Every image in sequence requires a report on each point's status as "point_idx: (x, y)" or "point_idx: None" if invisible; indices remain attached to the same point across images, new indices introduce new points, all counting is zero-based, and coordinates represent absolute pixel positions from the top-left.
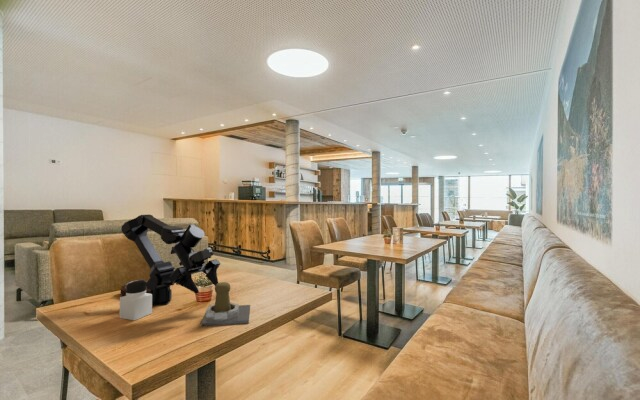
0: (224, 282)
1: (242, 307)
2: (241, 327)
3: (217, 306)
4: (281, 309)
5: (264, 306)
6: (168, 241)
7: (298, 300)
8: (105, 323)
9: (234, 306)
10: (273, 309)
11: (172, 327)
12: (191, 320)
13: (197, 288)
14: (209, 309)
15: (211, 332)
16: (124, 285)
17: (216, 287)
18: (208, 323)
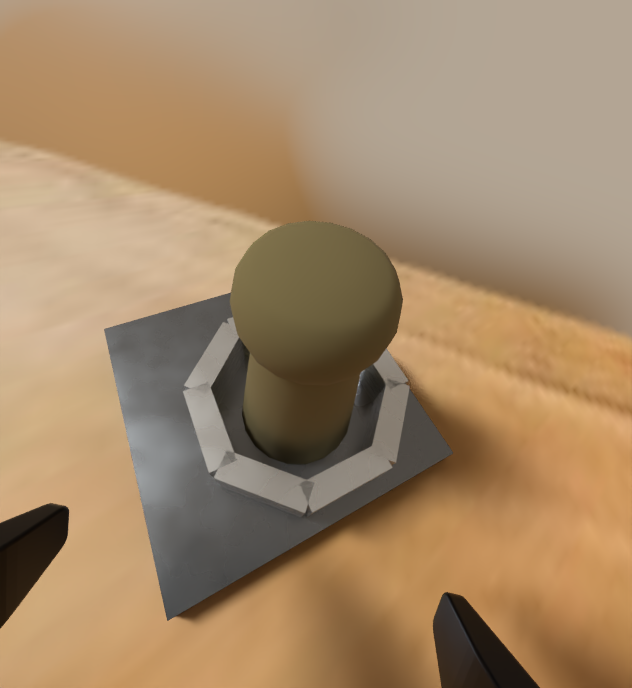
0: (296, 251)
1: (157, 352)
2: None
3: (357, 387)
4: (141, 212)
5: (93, 279)
6: None
7: (5, 178)
8: None
9: (238, 345)
10: (142, 236)
11: (550, 653)
12: (403, 598)
13: (472, 637)
14: (365, 455)
15: (464, 369)
16: None
17: (399, 315)
18: (426, 417)
